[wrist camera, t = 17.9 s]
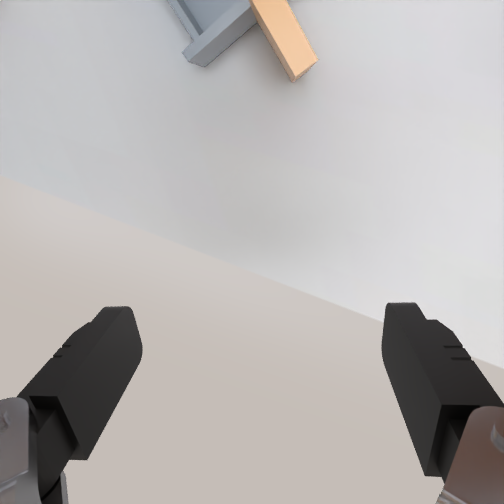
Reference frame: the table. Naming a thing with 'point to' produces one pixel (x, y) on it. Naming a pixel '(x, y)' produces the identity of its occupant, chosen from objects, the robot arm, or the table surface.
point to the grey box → (244, 30)
